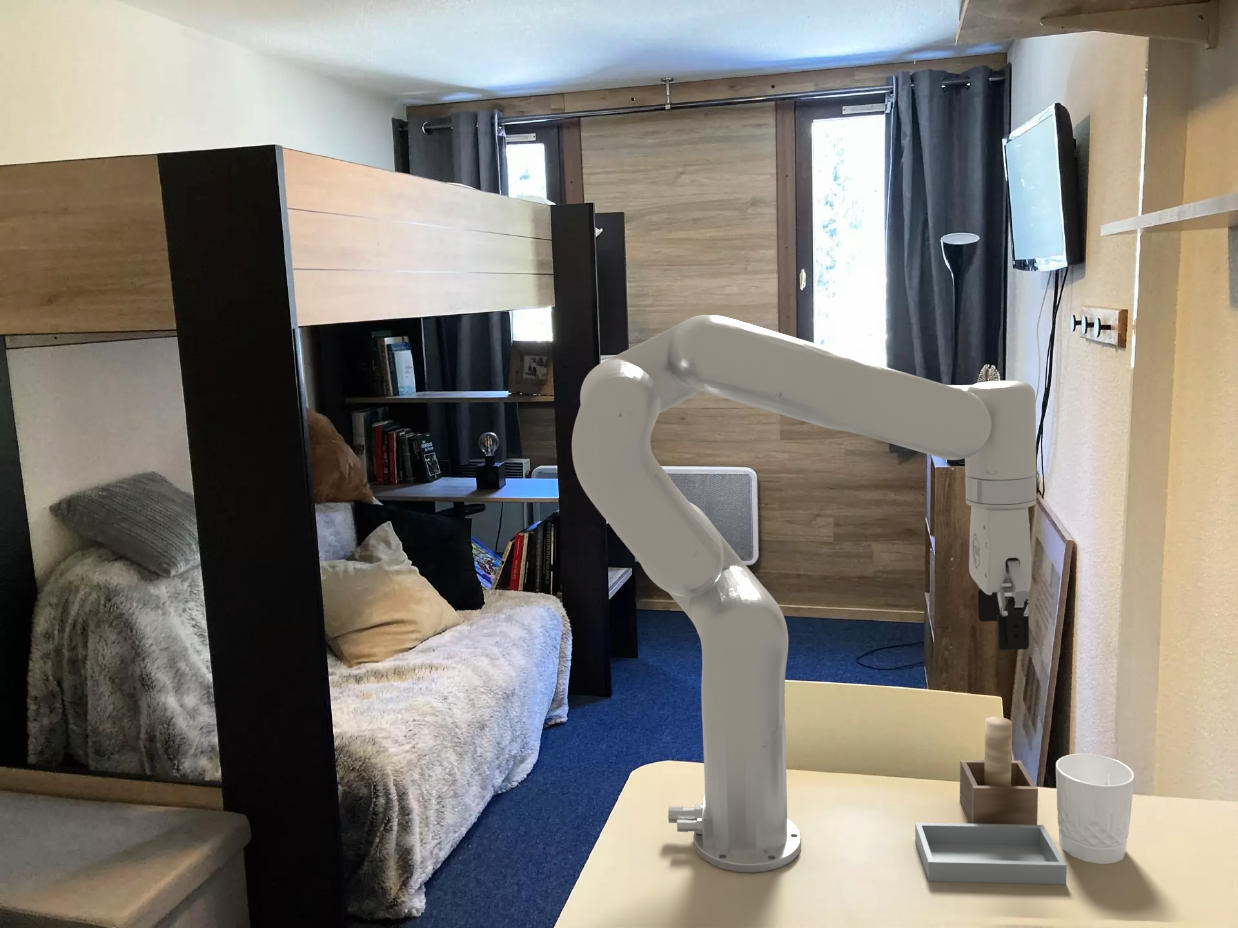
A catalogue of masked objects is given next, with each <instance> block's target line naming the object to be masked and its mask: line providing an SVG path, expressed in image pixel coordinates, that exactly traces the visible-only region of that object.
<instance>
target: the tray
mask: <svg viewBox="0 0 1238 928" xmlns="http://www.w3.org/2000/svg"><path fill="white" fill-rule="evenodd" d="M914 825H915V826H914V831H915V833H914V839H915V840H914V841H915V844H916V848H917V850H918V854H919V856H920V859H921V863H922V866H923V868H924V873H925V875H926V879H927V881H928V882H938V883H939V882H940V883H941V882H943V883H944V882H945V883H946V882H947V883H950V882H951V883H982V884H983V883H984V884H988V883H989V884H1019V885H1022V884H1023V885H1024V884H1025V885H1059V886H1060V885H1063V886H1065V885H1067V873H1068V872H1067V871H1068V869H1067V866H1068V865H1067V863H1066V861H1065V860H1064V858H1063V856H1062V855H1061V853H1060V851H1059V850H1058V848H1057V846H1056V844H1055V843H1054V841H1053V839H1052V837H1051V836H1050V834H1049V831H1047V829H1046V827H1045V826H1044V824H1037V825H1017V824H970V823H955V822H952V823H951V822H915V823H914Z"/></svg>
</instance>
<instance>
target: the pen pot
mask: <svg viewBox="0 0 1238 928" xmlns="http://www.w3.org/2000/svg"><path fill="white" fill-rule="evenodd" d="M984 767H985V759H983V760H982V759H981V760H980V759H979V760H978V759H959V803H960V805H961V808H962V809H963V812H964V814H965V816H966V818H967V821H968V824H1017V825H1038V810H1039V809H1038V808H1039V807H1038V806H1039V803H1038V801H1039V799H1038V798H1039V789H1038V787H1037V785H1036V783H1035V781H1034V780H1033V779H1032V777H1031V775H1030V773H1029V772H1028V770H1027V769H1026V766H1025V765H1024V764H1023V762H1022V761H1021V760H1012V761H1011V786H984Z"/></svg>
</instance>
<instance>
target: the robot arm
mask: <svg viewBox="0 0 1238 928" xmlns="http://www.w3.org/2000/svg"><path fill="white" fill-rule="evenodd" d="M701 392H702V393H706V394H710V395H712V396H715V397H720V398H723V399H727V400H730V401H733V402H737V403H741V404H744V405H748V406H752V407H755V408H758V409H762V410H766V411H769V412H772V413H775V414H778V415H782V416H785V417H788V418H792V419H794V420H795V419H796V420H798V421H799V420H800V421H803V422H806V423H809V424H812V425H817V426H819V427H823V428H827V429H832V430H837V431H844V432H849V433H851V434H852V433H853V434H856V435H861V436H864V437H868V438H870V439H871V438H872V439H875V440H879V441H881V442H885V443H888V444H891V445H892V444H893V445H896V446H899V447H902V448H906V449H909V450H912V451H917V452H920V453H923V454H926V455H930V456H933V457H937V458H940V459H943V460H949V461H956V460H957V461H959V460H963V459H964V467H965V468H964V473H965V477H964V478H965V479H964V480H965V503H966V505H968V506H970V508H971V509H970V517H969V518H970V519H969V520H970V521H969V523H970V524H969V554H968V555H969V556H968V557H969V558H968V571H969V574H970V576H971V578H972V579H973V581H974V582H975V583H976V585H977V586H978V588H977V618H978V621H980V622H997V646H998V648H999V649H1000V650H1001V651H1011V650H1013V651H1016V650H1027V649H1029V647H1030V634H1029V633H1030V632H1029V631H1030V630H1029V629H1030V627H1029V626H1030V625H1029V624H1030V623H1029V622H1030V621H1029V620H1030V619H1029V617H1030V616H1029V614H1030V613H1029V611H1030V610H1029V602H1028V601H1029V599H1027V595H1028V592H1030V590H1031V584H1032V551H1031V547H1032V546H1031V530H1030V527H1031V525H1030V517H1029V516H1030V515H1029V508H1030V507H1033V506H1035V505H1036V504H1037V431H1036V430H1037V428H1036V427H1037V425H1036V424H1037V417H1036V416H1037V412H1036V411H1037V410H1036V409H1037V407H1036V406H1037V405H1036V403H1037V402H1036V392H1035V389H1034V387H1033V386H1032V385H1031V384H1030V383H1028V382H1024V381H1022V380H1021V381H1020V380H1019V381H1018V380H990V381H983V382H982V381H981V382H977V383H974V384H966V385H965V384H963V385H961V384H960V385H959V384H958V385H955V384H950V385H949V384H944V383H940V382H937V381H934V380H931V379H928V378H924V377H921V376H917V375H914V374H910V373H907V372H903V371H899V370H896V369H893V368H890V367H887V366H883V365H880V364H877V363H874V362H871V361H868V360H865V359H863V358H860V357H857V356H855V355H853V354H849V353H847V352H844V351H841V350H838V349H835V348H831V347H828V346H826V345H822V344H818V343H814V342H812V341H807V340H805V339H801V338H797V337H795V336H791V335H788V334H783V333H781V332H778V331H773V330H771V329H768V328H763V327H761V326H757V325H754V324H751V323H747V322H743V321H741V320H737V319H734V318H730V317H727V316H722V315H710V314H703V315H702V314H701V315H695V316H692V317H690V318H687V319H685V320H683V321H682V322H680V323H678V324H676V325H674V326H672V327H670V328H667V330H664V331H662V332H660V333H658V334H657V335H655V336H652V337H650V338H649V339H646V340H645V341H643V342H640V343H639V344H637V345H634V346H632V347H631V348H629V349H627V350H624V351H623V352H620V353H618V354H616V355H614V356H612V357H611V358H608V359H606V360H605V361H602V362H601V363H599V364H598V365H596V366H594V368H592V369H591V370H590V371H589V372H588V374H587V375H586V377H585V378H584V380H583V383H582V385H581V388H580V394H579V395H580V396H579V400H580V406H579V409H578V413H577V416H576V418H575V422H574V425H573V426H574V427H573V429H572V430H573V431H572V437H571V453H572V454H571V455H572V461H573V462H572V463H573V467H574V470H575V473H576V477H577V479H578V481H579V483H580V486H581V488H582V489H583V491H584V493H585V494H586V496H587V497H588V498H589V500H590V501H591V503H592V504H593V505H594V506H595V508H596V509H597V511H598V512H599V513H600V514H601V516H602V517H603V518H604V519H605V520H606V521H607V523H608V524H609V525H610V527H611V528H612V530H613V531H614V533H616V535H617V537H618V538H620V541H621V542H622V543H624V545H625V546H626V547H627V549H628V550H629V551H630V553H632V555H633V556H634V557H635V558H636V560H637V562H638V563H639V564H640V566H641V567H642V569H643V571H644V573H645V574H646V575H647V576H648V578H649V579H650V580H651V581H652V582H653V583H654V584H655V585H656V586H658V587H659V588H660V589H661V590H663V591H665V592H667V593H668V594H669V595H670V596H671V597H672V598H673V600H674V601H675V602H676V603H677V604H678V606H679V607H680V608H681V609H682V611H683V612H685V614H686V615H687V616H688V618H689V619H690V621H691V622H692V623H693V625H694V627H695V628H696V631H697V635H698V636H699V639H700V645H701V653H702V655H701V656H702V659H701V660H702V662H701V663H702V665H701V666H702V667H701V669H702V670H701V720H702V738H703V739H702V741H703V742H702V745H703V746H702V747H703V748H702V749H703V768H704V769H703V771H704V773H703V774H704V795H703V803H701V804H700V803H697V804H694V807H693V806H682V805H679V806H678V805H669V806H668V810H667V811H668V813H667V814H668V816H667V818H668V823H669V824H676V827H677V828H676V831H677V833H679V832H681V833H689V832H693V835H692V836H693V846H694V849H695V851H696V852H697V854H698V856H700V857H701V858H702V859H704V860H705V861H706V862H708V863H710V864H711V865H713V866H716V867H718V868H721V869H724V870H728V871H732V872H740V873H761V872H768V871H772V870H775V869H779V868H781V867H784V866H786V865H787V864H790V863H791V862H792V861H793V860H794V859H796V858H797V856H798V855H799V854H800V851H801V849H802V836H801V835H802V834H801V832H800V830H799V828H798V827H797V825H795V824H794V822H792V821H791V820H789V819H788V791H787V787H788V786H787V784H788V783H787V743H786V742H787V740H786V738H787V737H786V717H785V716H786V710H785V708H786V705H785V703H786V701H785V699H786V698H785V697H786V696H785V693H786V692H785V691H786V690H785V688H786V687H785V686H786V670H787V661H788V652H789V651H788V650H789V632H788V626H787V623H786V622H787V621H786V619H785V616H784V613H783V611H782V610H781V608H780V607H781V606H780V605H779V604H778V603H777V601H776V600H775V598H774V597H773V596H772V595H771V593H770V592H769V591H768V590H767V588H765V587H764V586H763V584H762V583H761V582H760V580H759V579H758V578H757V577H756V575H754V573H753V572H752V571H751V570H750V569H749V567H748V566H747V565H746V564H745V563H744V561H743V560H742V559H741V557H739V555H738V554H737V553H736V551H735V550H734V549H733V548H732V547H731V545H730V544H729V543H728V542H727V541H726V539H725V538H724V536H722V534H721V533H720V531H719V530H718V529H717V528H716V527H715V525H714V524H713V523H712V521H711V520H710V518H708V516H707V515H706V514H705V512H703V510H702V509H700V508H699V507H698V506H697V505H695V504H694V503H692V502H691V501H689V500H688V499H687V498H686V496H685V495H684V494H683V493H682V492H681V490H680V489H679V488H678V487H677V486H676V484H675V483H674V482H673V480H672V478H671V477H670V475H669V474H668V473H667V472H666V471H665V469H664V468H663V467H662V465H661V464H660V463H659V461H658V460H657V459H656V457H655V455H654V453H653V450H652V446H651V442H652V441H651V437H652V432H653V430H654V427H655V425H656V423H657V420H658V417H659V415H660V413H662V412H664V411H667V410H668V409H670V408H672V407H675V406H676V405H678V404H681V403H682V402H685V401H687V400H688V399H690V398H692V397H693V396H696V395H697V394H699V393H701ZM1007 597H1008V599H1007Z"/></svg>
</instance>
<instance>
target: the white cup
mask: <svg viewBox="0 0 1238 928" xmlns="http://www.w3.org/2000/svg"><path fill="white" fill-rule="evenodd" d="M1055 777H1056V778H1055V781H1056V783H1055V784H1056V785H1055V786H1056V810H1057V824H1058V825H1057V826H1058V842H1059V845H1060V847H1061V849H1062V850H1063V851H1065V852H1066V853H1067V854H1068V855H1069V856H1071V857H1074V858H1076V859H1077V860H1081V861H1083V862H1087V863H1094V864H1099V865H1104V864H1115V863H1117V862H1120V861H1122V860H1124V858H1125V856H1126V853H1127V843H1128V837H1129V834H1130V822H1131V816H1132V815H1131V814H1132V804H1133V795H1134V793H1133V792H1134V782H1135V773H1134V772H1133V770H1132V769H1131V768H1130V766H1128V765H1126V763H1124V762H1121V761H1119V760H1117V759H1114V758H1112V757H1108V756H1105V755H1099V754H1094V753H1073V754H1067V755H1065V756H1062V757H1060V758H1058V760H1056V762H1055Z"/></svg>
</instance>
